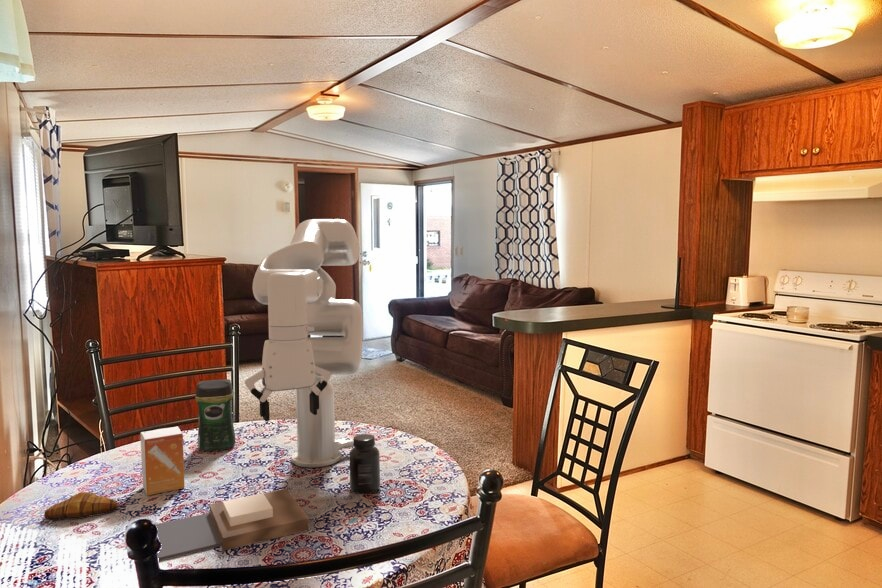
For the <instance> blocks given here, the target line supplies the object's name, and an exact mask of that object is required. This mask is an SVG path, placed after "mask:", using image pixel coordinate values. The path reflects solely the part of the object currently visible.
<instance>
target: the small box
mask: <svg viewBox="0 0 882 588" xmlns="http://www.w3.org/2000/svg"><path fill="white" fill-rule="evenodd" d="M139 434H140V454H141V456H140V459H141V477H142V478H141V479H142V488H143V490H144V492H145V495H146V496H147V497H148V496H151V495H156V494H160V493H166V492H171V491H176V490H180V489H181V490H182V489H185V464H184V463H185V462H184V461H185V460H184V436H183V432H182V431H181V429H180V427H179V426H173V427H172V426H171V427H163V428H157V429H153V430H147V431H141V432H140V433H139Z"/></svg>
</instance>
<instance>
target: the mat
mask: <svg viewBox="0 0 882 588" xmlns="http://www.w3.org/2000/svg"><path fill="white" fill-rule="evenodd" d="M155 524H156V523H155ZM156 526H157V528H158V532H159V533H158V537H159V540H160V542H161V544H162V549H161V551H160V552H159V554H158V558H159V561H158V562H160V561H163V560H168V559H172V558H177V557H182V556H184V555H189V554H194V553H197V552H198V553H199V552H202V551H205V550H206V551H207V550H211V549H215V548H219V547H222V543H221V540H220V537H219V535H218V532H217V530H216V527H215V525H214V522H213V520H212V517H211V515H210V512H208V513H203V514H198V515H192V516H188V517H183V518H180V519H174V520H169V521H165V522H160V523H157V524H156Z"/></svg>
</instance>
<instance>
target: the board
mask: <svg viewBox="0 0 882 588" xmlns="http://www.w3.org/2000/svg"><path fill="white" fill-rule="evenodd" d="M263 494H264V495H265V497H266V498H267V500H268V502H269V503H270V505H271V506H272V508H273V517H270V518H266V519H262V520H257V521H253V522H248V523H244V524H239V525H235V526H231V527H230V524H229V522H228V520H227V518H226V515H225V513H224V511H223V501H220V502H219V501H218V502H216V503H215V502H214V503H210V504H209V506H208V507H209V513H210V515H211V517H212V520H213V522H214V525H215V527H216V530H217V532H218V535H219V537H220V540H221V543H222V546H221V548H222V551H223V552H225V551H228V550H231V549H232V550H233V549H237V548H240V547H245V546H249V545H253V544H257V543H261V542H266V541H269V540H274V539H278V538H282V537H286V536H290V535H294V534H299V533H302V532H303V533H304V532H307V531H309V530H310V518H309V516H308V515H307V514H306V512H305V511H304V509H303V508H302V506H300V503H298V502H297V500H296V498H295V497H294V495H292V493H291V492H290V490H289V489H288V488H283V489H279V490H278V489H277V490H273V491H268V492H264V493H263Z"/></svg>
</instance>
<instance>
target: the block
mask: <svg viewBox="0 0 882 588" xmlns="http://www.w3.org/2000/svg"><path fill="white" fill-rule="evenodd" d="M222 502H223V511H224V513H225V515H226V518H227V520H228V522H229V524H230V527H231V526H235V525H239V524H244V523H248V522H253V521H257V520H262V519H266V518H270V517H273V508H272V506H271V505H270V503H269V502H268V500H267V498H266V497H265V495H264V494H263V493H256V494H252V495H247V496H243V497H237V498H232V499H228V500H223V501H222Z"/></svg>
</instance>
